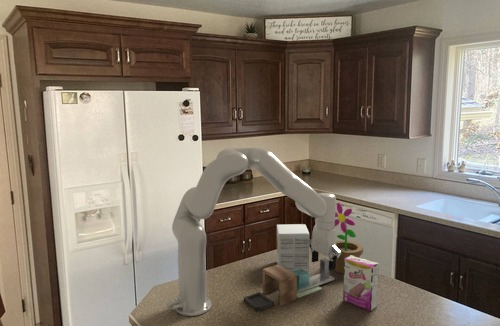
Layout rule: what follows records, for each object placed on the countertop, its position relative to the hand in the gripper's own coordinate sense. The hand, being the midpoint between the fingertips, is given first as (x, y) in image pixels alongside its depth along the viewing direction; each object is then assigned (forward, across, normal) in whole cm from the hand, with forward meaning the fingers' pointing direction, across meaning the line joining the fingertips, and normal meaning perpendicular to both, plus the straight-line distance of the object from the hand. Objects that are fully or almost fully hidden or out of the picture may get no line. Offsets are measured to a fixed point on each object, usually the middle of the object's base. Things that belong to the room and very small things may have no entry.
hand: (323, 265), depth 161 cm
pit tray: (+7, 0, -32) cm, 32 cm away
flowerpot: (+6, -3, +16) cm, 17 cm away
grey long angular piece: (+7, 0, -6) cm, 9 cm away
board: (+7, 0, -11) cm, 13 cm away
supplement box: (+7, -18, -1) cm, 19 cm away
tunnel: (+7, 0, -22) cm, 23 cm away
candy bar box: (+7, +21, -2) cm, 22 cm away
